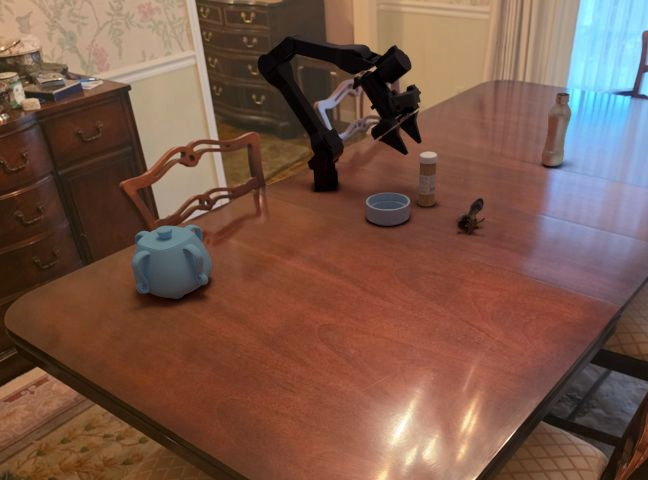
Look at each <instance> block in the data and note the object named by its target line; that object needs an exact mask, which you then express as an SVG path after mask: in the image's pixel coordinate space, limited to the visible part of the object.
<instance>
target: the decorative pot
mask: <svg viewBox="0 0 648 480" xmlns="http://www.w3.org/2000/svg"><path fill="white" fill-rule="evenodd" d="M203 235H204V234H203V230H202V229H201V227H200V226H198V225H195V224H188V225H186V226H184V227H181V226H177V225H176V226H175V225H161V226H159V227H157V228H156V229H153V230H152V231H147V230H141V231H139V232H138V233H136V235H135V236H134V242H135V245H136V247H135V251H134V255H133V257H132V258H131V270H132V272H133V278H134V281H135V283H136V286H135V289H136V291H137V293H139V294H141V295H145V294H148V293H149V294H152V295H153V296H156V297H159V298H166V299H173V300H179V299H181V298H183V297H184V295H187V294H189V293H191V292H194V291H196V290H197V289H199V288H200V287H201V286H206V285H207V284H208V283H209V277H210V275H211V274H212V270H213V261H212V259H211V256H210V254H209V252H208V249H207V248H206V247H205V245H204V243H203V241H204V237H203Z"/></svg>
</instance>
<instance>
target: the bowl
mask: <svg viewBox="0 0 648 480" xmlns="http://www.w3.org/2000/svg"><path fill="white" fill-rule="evenodd" d="M365 217H366V219H367V220H368V221H369V222H370V223H373V224H375V225H378V226H383V227H391V226H397V225H400V224H403V223H405V222H406V221H408V220H409V218H410V217H411V199H410V198H409V197H408V196H407V195H405V194H402V193H397V192H378V193H375V194H372V195H370V196H369V197H367V198H366V200H365Z"/></svg>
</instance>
